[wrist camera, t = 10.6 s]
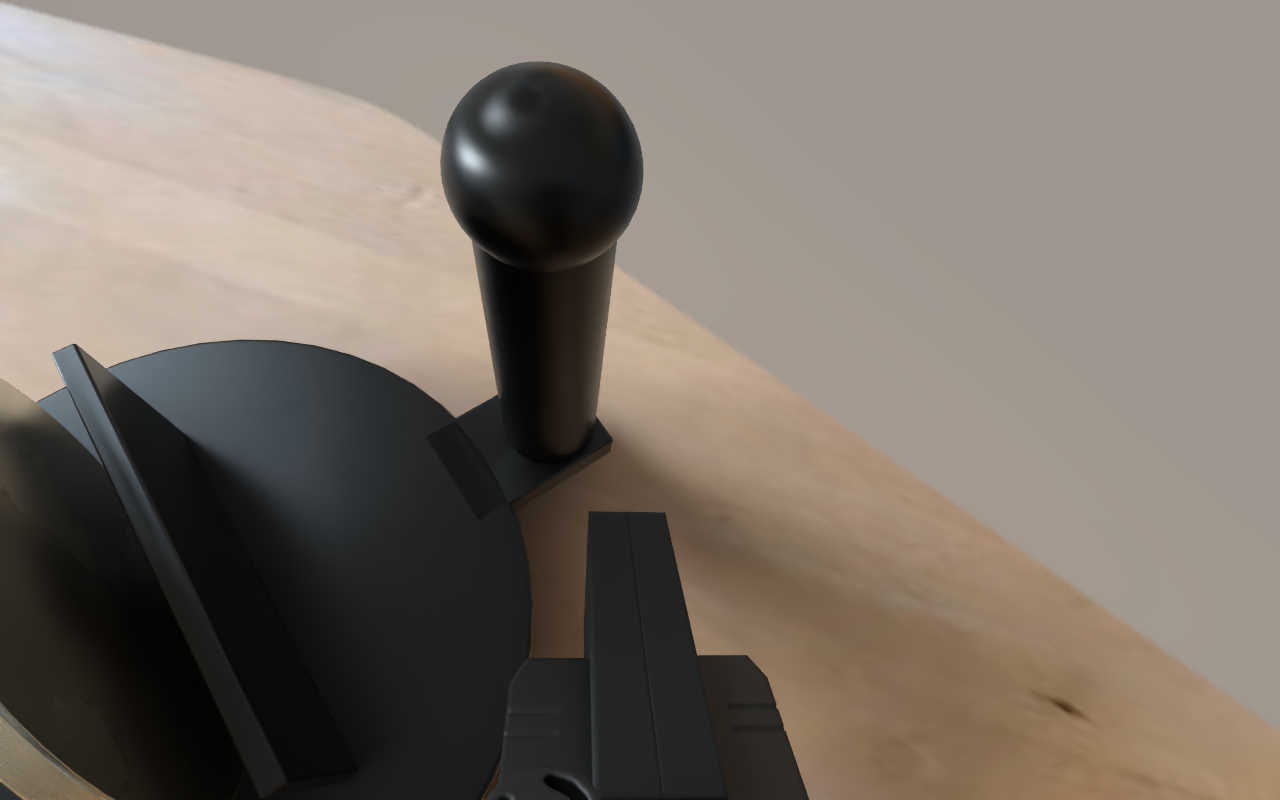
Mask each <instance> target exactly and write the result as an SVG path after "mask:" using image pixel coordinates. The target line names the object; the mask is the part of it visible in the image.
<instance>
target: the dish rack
mask: <svg viewBox="0 0 1280 800" xmlns="http://www.w3.org/2000/svg"><path fill="white" fill-rule="evenodd" d="M440 164H441V176H442V184H443V188H444V192H445V195H446V198H447V201H448V204H449V206H450V209H451V211H452V213H453V215H454V216H455V218H456V220H457V221H458V223H459V225H460V226H461V228H462V229H463V230H464V231H465V233H466V234H467V235H468V236H469V237H470V238H471V240H472V244H473V250H474V256H475V262H476V268H477V274H478V279H479V285H480V291H481V297H482V303H483V309H484V315H485V320H486V326H487V332H488V338H489V344H490V350H491V356H492V362H493V367H494V373H495V379H496V385H497V391H498V395H496V396H495V397H493V398H491V399H489V400H487V401H486V402H484V403H482V404H480V405H479V406H477V407H475V408H473V409H472V410H470V411H468V412H466V413H464V414H463V415H461V416H459V417H457V418H455V417H454V416H453V415H452V414H451V413H450V412H449V411H448V410H447V409H446V408H445V407H443V406H442V405H441V404H440V403H439V402H437V401H436V400H434V399H433V398H432V397H430V396H429V395H428V394H426V393H425V392H424V391H422V390H421V389H420V388H418V387H417V386H416V385H414V384H412V383H411V382H409V381H407V380H405V379H403V378H402V377H400V376H398V375H396V374H394V373H392V372H391V371H389V370H387V369H385V368H383V367H381V366H378V365H376V364H373V363H371V362H368V361H365V360H363V359H360V358H358V357H355V356H353V355H350V354H346V353H342V352H338V351H334V350H331V349H327V348H323V347H319V346H315V345H308V344H300V343H293V342H285V341H276V340H231V341H219V342H208V343H199V344H194V345H188V346H183V347H178V348H173V349H167V350H162V351H158V352H155V353H152V354H148V355H145V356H142V357H138V358H135V359H131V360H128V361H125V362H121V363H119V364H116V365H114V366H111V367H109V368H104V367H103V366H102V365H101V364H100V363H98V362H97V361H96V360H95V359H94V358H92V357H91V356H90V355H89V354H87V353H86V352H85V351H84V350H83V349H81V348H80V347H79V346H78V345H76V344H72V345H69V346H67V347H65V348H63V349H60V350H58V351H56V352H54V353H52V358H53V360H54V362H55V364H56V366H57V368H58V371H59V373H60V375H61V377H62V379H63V381H64V383H65V385H66V387H64V388H62V389H60V390H58V391H56V392H55V393H53V394H51V395H49V396H47V397H45V398H43V399H41V400H39V401H38V402H36V403H35V402H34V401H33V400H31V399H30V398H29V397H28V396H26V395H25V394H23V393H22V392H20V391H19V390H18V389H16V388H15V387H13V386H12V385H10V384H9V383H8V382H6V381H4V380H3V379H1V378H0V800H483V799H484V797H485V796H486V794H487V792H488V790H489V788H490V787H491V785H492V783H493V781H494V779H495V778H496V775H497V773H498V770H499V768H500V761H501V753H502V745H503V737H504V728H505V720H506V714H507V704H508V696H509V688H510V681H511V680H512V678H513V677H514V676H515V674H516V673H517V671H518V670H519V668H520V667H521V665H522V664H523V663H524V661H525V660H526V658H531V654H532V646H533V610H534V605H533V595H532V586H531V576H530V567H529V561H528V556H527V552H526V548H525V544H524V540H523V535H522V531H521V527H520V523H519V521H518V518H517V516H516V513H515V511H517V510H519V509H520V508H522V507H523V506H525V505H527V504H528V503H530V502H531V501H533V500H535V499H536V498H538V497H539V496H541V495H543V494H544V493H546V492H547V491H549V490H551V489H552V488H554V487H555V486H557V485H558V484H560V483H562V482H563V481H565V480H566V479H568V478H570V477H571V476H573V475H574V474H576V473H578V472H579V471H581V470H582V469H584V468H586V467H587V466H589V465H590V464H592V463H594V462H595V461H597V460H598V459H600V458H602V457H603V456H605V455H606V454H608V453H610V451H611V447H612V442H613V439H612V437H611V436H610V434H609V433H608V432H607V430H606V429H605V428H604V426H603V425H602V424H601V422H600V421H599V419H598V418H597V417H596V412H597V404H598V395H599V387H600V379H601V370H602V362H603V354H604V345H605V337H606V328H607V320H608V312H609V303H610V295H611V287H612V278H613V270H614V262H615V253H616V245H617V240H618V239H619V238H620V236H621V235H622V234H623V232H624V231H625V229H626V228H627V227H628V225H629V223H630V221H631V219H632V217H633V215H634V213H635V211H636V209H637V206H638V202H639V199H640V195H641V191H642V183H643V158H642V151H641V146H640V142H639V139H638V136H637V133H636V130H635V128H634V125H633V123H632V122H631V120H630V118H629V116H628V114H627V113H626V111H625V109H624V107H623V106H622V105H621V103H620V102H619V101H618V100H617V99H616V97H615V96H614V95H613V94H612V93H611V92H610V91H609V90H608V89H607V88H606V87H604V86H603V85H602V84H601V83H599V82H598V81H597V80H595V79H593V78H592V77H591V76H589V75H587V74H586V73H584V72H582V71H580V70H577V69H575V68H572V67H569V66H566V65H562V64H557V63H551V62H525V63H518V64H514V65H510V66H507V67H504V68H501V69H499V70H497V71H495V72H493V73H492V74H490V75H488V76H487V77H485V78H484V79H482V80H480V81H479V82H478V83H477V84H476V85H474V86H473V87H472V88H471V89H470V90H469V91H468V93H467V94H466V95H465V96H464V97H463V98H462V99H461V101H460V102H459V104H458V105H457V107H456V108H455V110H454V112H453V114H452V116H451V118H450V120H449V122H448V124H447V128H446V131H445V135H444V138H443V142H442V150H441V161H440Z"/></svg>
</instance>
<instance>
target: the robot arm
mask: <svg viewBox="0 0 1280 800" xmlns="http://www.w3.org/2000/svg"><path fill="white" fill-rule="evenodd" d="M487 800H809V798H808V795H807V792H806V789H805V786H804V783H803V780H802V777H801V775H800V772H799V769H798V766H797V763H796V760H795V757H794V754H793V751H792V748H791V745H790V742H789V739H788V737H787V734H786V731H784V725H783V722H782V719H781V716H780V713H779V710H778V709H777V708H776V701H775V699H774V696H773V693H772V690H771V687H770V684H769V681H768V678H767V677H766V676H765V674H764V673H763V672H762V671H761V670H760V669H759V668H758V667H757V666H756V665H755V663H754V662H753V661H752V660H751V659H750V658H749V657H748V656H747V655H697V653H696V648H695V644H694V639H693V635H692V631H691V626H690V622H689V617H688V613H687V608H686V604H685V599H684V595H683V590H682V586H681V581H680V577H679V572H678V568H677V563H676V559H675V555H674V550H673V546H672V541H671V537H670V532H669V528H668V523H667V519H666V514H665V512H598V511H588V537H587V562H586V588H585V614H584V658H526V660H525V661H524V663H523V664H522V665H521V667H520V668H519V670H518V671H517V673H516V674H515V676H514V677H513V678H512V680H511V681H510V688H509V696H508V704H507V714H506V720H505V728H504V737H503V745H502V753H501V761H500V769H499V777H498V785H497V786H496V787H495V788H494V789H493V790H492V791H491V793H490V794H489V795H488V797H487Z"/></svg>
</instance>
